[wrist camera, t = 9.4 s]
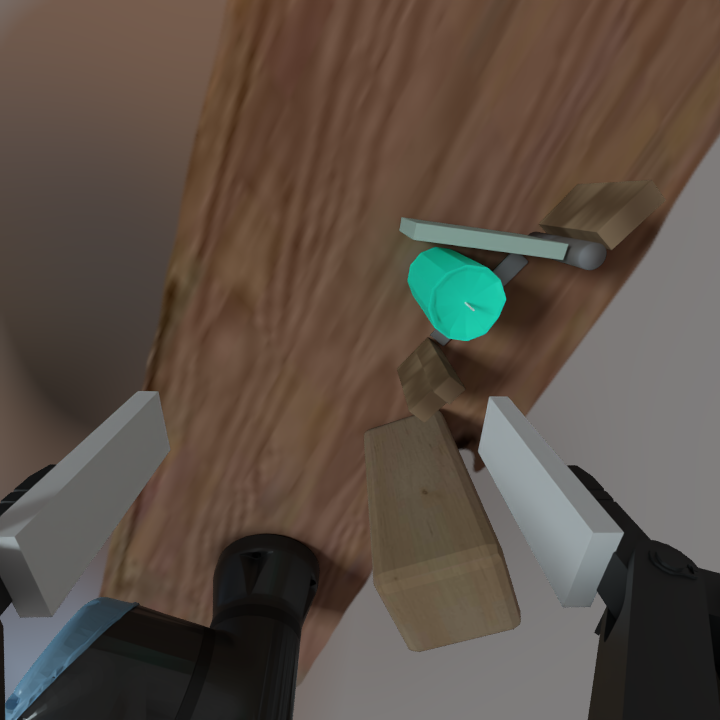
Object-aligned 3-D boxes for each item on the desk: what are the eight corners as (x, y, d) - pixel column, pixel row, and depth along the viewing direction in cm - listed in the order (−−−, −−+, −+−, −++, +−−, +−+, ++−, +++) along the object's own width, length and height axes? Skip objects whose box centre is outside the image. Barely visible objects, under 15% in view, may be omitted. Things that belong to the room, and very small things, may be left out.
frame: (409, 378, 42) (425, 426, 33) (397, 368, 41) (410, 414, 32) (589, 199, 34) (671, 200, 26) (577, 184, 34) (657, 179, 25)
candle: (427, 316, 39) (458, 362, 28) (396, 271, 37) (416, 302, 26) (476, 282, 37) (529, 317, 26) (446, 233, 35) (490, 250, 24)
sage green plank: (522, 234, 35) (568, 244, 28) (518, 247, 36) (563, 260, 28) (401, 217, 34) (416, 222, 27) (399, 230, 35) (413, 239, 27)
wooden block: (438, 403, 43) (504, 553, 25) (458, 464, 47) (527, 632, 29) (360, 428, 44) (370, 589, 26) (386, 486, 48) (409, 660, 30)
